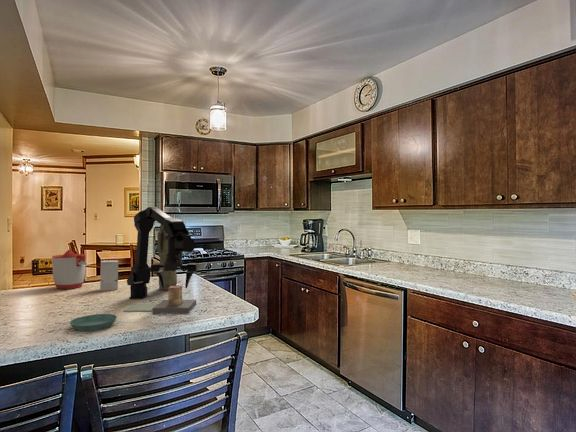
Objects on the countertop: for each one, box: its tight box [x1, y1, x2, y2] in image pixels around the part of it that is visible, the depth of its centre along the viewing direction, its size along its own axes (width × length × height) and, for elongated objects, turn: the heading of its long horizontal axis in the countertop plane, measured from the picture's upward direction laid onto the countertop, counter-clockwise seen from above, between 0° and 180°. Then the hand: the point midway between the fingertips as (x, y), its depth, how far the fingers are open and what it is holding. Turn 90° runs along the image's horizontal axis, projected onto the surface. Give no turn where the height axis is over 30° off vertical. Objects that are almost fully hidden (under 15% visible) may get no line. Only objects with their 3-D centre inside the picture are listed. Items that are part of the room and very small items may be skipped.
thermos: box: [156, 224, 178, 292], centre depth 195 cm, size 9×12×35 cm
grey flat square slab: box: [152, 299, 197, 314], centre depth 155 cm, size 14×14×2 cm
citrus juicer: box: [51, 249, 88, 290], centre depth 200 cm, size 16×17×20 cm
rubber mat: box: [123, 303, 158, 313], centre depth 156 cm, size 11×11×1 cm
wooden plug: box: [167, 285, 183, 305], centre depth 155 cm, size 4×4×9 cm
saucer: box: [69, 313, 118, 332], centre depth 132 cm, size 15×15×3 cm
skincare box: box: [99, 259, 119, 292], centre depth 194 cm, size 8×6×15 cm
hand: (175, 288), depth 155 cm, fingers open, 9 cm apart
